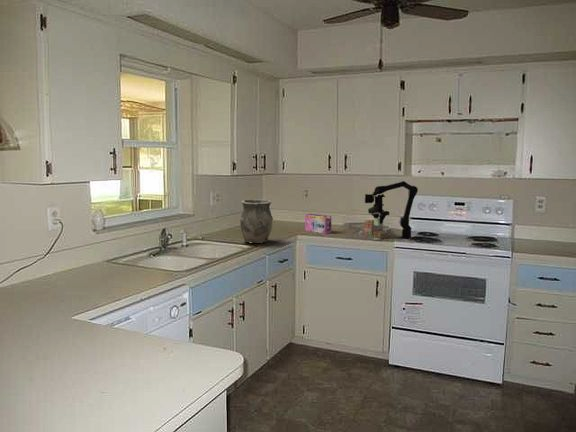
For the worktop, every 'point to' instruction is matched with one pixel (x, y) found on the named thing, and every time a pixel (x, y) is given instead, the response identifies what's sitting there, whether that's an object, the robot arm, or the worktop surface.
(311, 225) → the gum box
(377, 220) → the sage cube
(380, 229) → the stack of blocks
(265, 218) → the clay pot
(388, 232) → the grey cube
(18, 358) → the worktop surface
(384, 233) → the walnut base block
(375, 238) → the slate card
